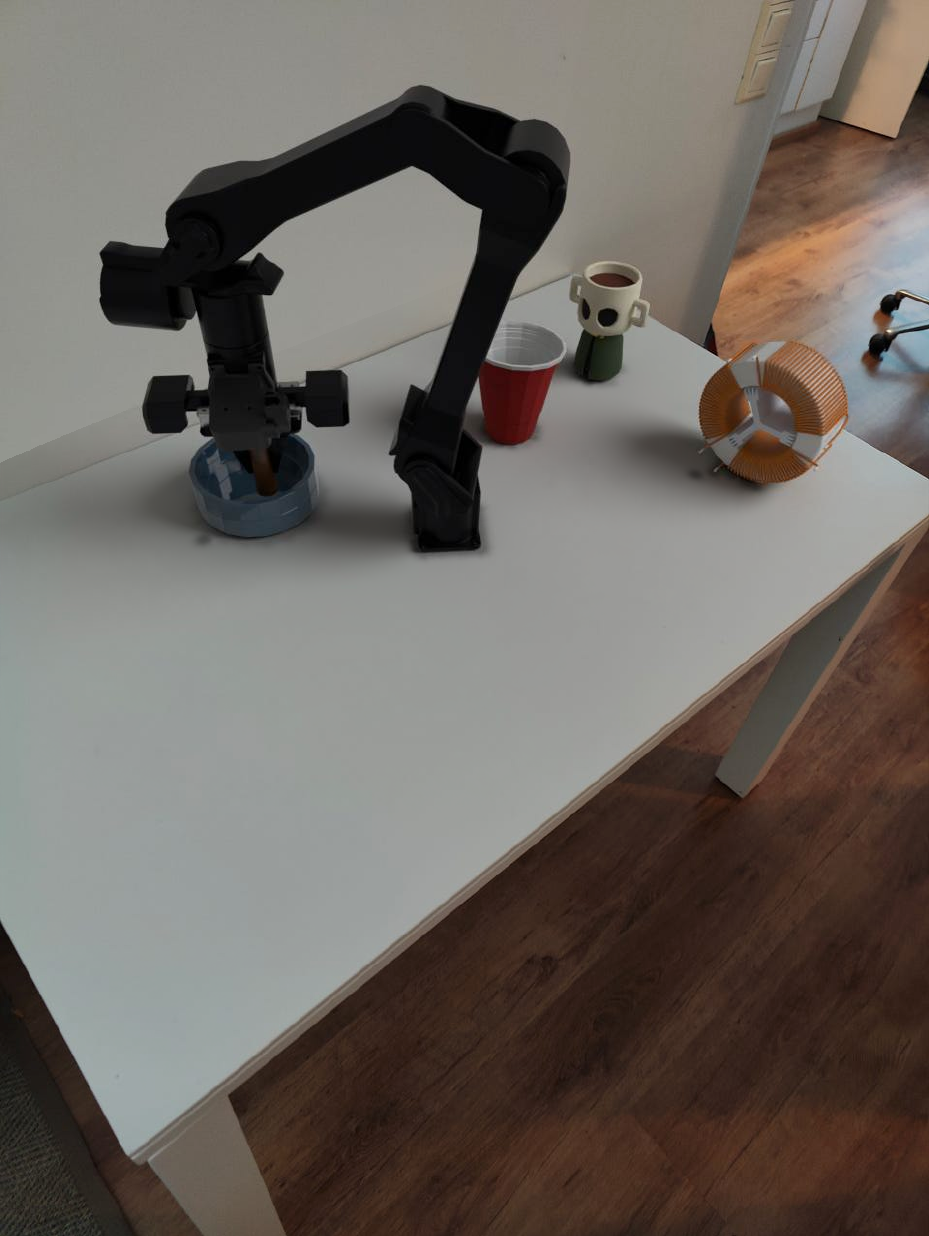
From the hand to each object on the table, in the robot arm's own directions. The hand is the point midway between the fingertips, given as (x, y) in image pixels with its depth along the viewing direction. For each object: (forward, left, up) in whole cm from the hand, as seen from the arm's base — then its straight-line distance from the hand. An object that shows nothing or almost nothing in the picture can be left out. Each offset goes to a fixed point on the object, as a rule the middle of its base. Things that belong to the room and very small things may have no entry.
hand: (263, 470), depth 84 cm
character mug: (-41, -25, -6) cm, 48 cm away
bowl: (+1, -2, -5) cm, 6 cm away
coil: (-55, -4, -6) cm, 55 cm away
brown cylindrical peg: (0, 0, -3) cm, 3 cm away
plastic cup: (-28, -13, -6) cm, 31 cm away
